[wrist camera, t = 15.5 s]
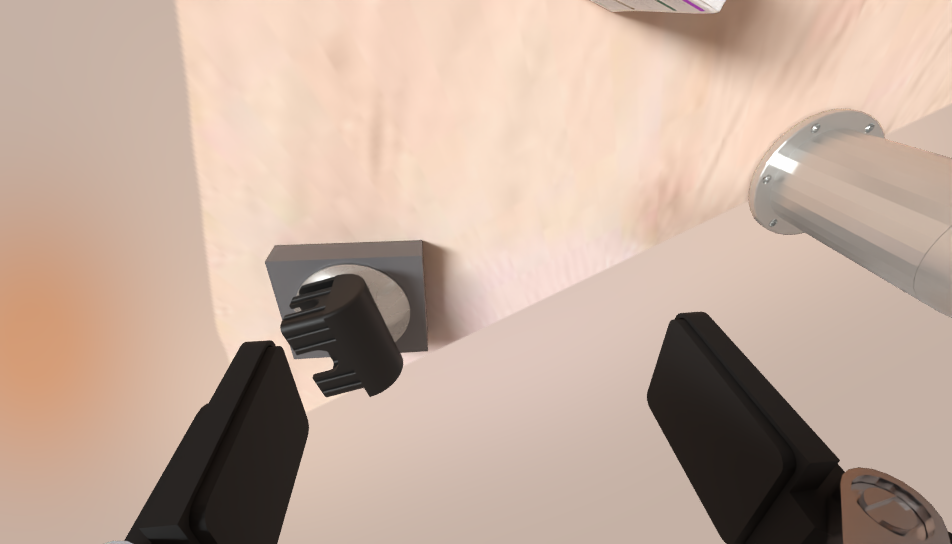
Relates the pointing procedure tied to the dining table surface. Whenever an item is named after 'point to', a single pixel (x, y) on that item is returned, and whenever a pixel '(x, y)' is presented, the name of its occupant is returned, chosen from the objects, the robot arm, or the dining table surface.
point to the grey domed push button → (381, 266)
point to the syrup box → (663, 5)
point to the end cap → (344, 335)
